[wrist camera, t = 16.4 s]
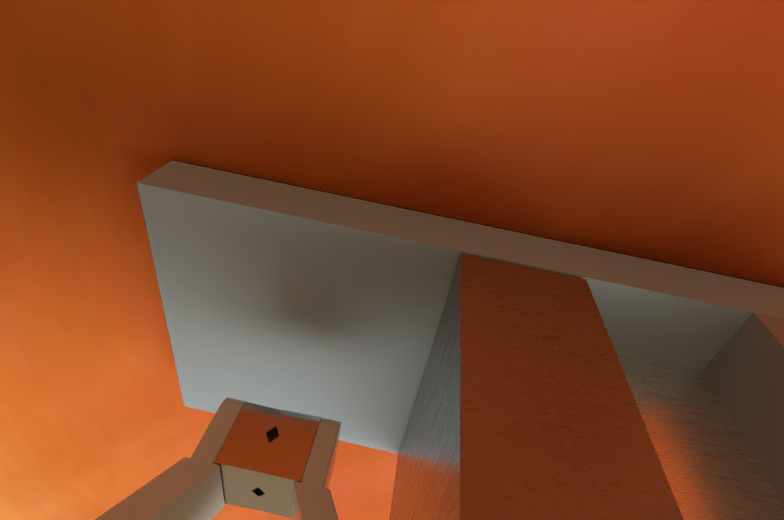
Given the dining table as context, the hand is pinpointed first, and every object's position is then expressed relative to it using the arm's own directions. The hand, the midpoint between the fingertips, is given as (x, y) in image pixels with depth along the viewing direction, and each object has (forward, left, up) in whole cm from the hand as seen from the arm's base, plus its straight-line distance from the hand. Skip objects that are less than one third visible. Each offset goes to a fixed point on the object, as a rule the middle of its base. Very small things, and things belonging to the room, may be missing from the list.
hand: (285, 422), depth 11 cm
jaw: (+5, 0, -2) cm, 5 cm away
